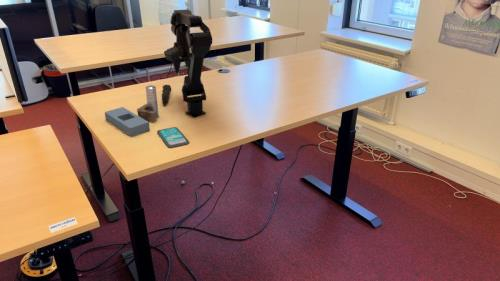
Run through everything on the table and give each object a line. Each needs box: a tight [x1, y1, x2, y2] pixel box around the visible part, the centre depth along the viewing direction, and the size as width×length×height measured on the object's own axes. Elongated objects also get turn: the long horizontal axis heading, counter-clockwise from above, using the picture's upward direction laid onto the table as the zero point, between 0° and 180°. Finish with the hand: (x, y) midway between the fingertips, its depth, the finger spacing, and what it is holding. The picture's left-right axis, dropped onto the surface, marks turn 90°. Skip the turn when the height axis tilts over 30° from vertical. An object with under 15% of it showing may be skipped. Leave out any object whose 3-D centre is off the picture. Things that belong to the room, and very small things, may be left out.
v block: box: [136, 103, 157, 123], centre depth 156 cm, size 6×11×4 cm, turn 25°
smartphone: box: [156, 126, 190, 149], centre depth 142 cm, size 9×1×15 cm
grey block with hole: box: [104, 106, 151, 137], centre depth 150 cm, size 20×8×4 cm, turn 45°
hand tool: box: [161, 84, 172, 107], centre depth 175 cm, size 19×4×5 cm, turn 5°
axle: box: [145, 84, 160, 119], centre depth 155 cm, size 4×4×13 cm
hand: (183, 75), depth 168 cm, fingers open, 9 cm apart
